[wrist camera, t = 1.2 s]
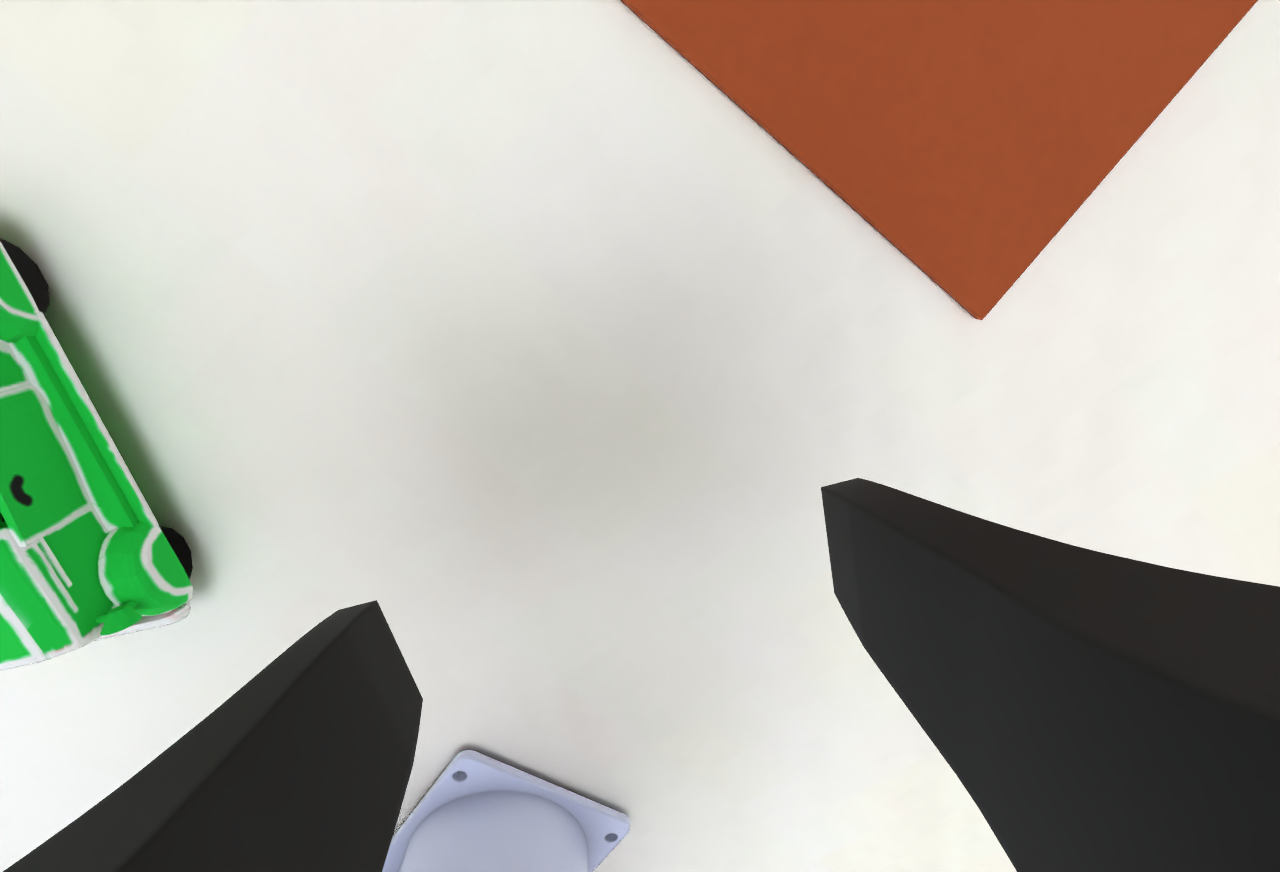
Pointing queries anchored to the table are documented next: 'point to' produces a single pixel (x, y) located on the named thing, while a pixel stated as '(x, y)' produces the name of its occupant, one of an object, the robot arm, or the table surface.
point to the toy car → (68, 500)
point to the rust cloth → (952, 107)
